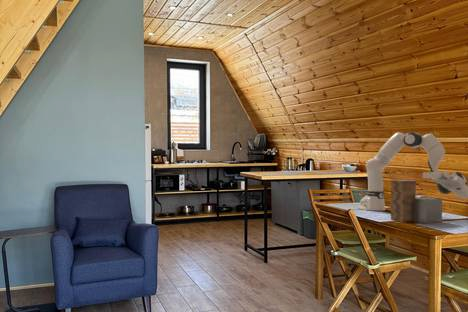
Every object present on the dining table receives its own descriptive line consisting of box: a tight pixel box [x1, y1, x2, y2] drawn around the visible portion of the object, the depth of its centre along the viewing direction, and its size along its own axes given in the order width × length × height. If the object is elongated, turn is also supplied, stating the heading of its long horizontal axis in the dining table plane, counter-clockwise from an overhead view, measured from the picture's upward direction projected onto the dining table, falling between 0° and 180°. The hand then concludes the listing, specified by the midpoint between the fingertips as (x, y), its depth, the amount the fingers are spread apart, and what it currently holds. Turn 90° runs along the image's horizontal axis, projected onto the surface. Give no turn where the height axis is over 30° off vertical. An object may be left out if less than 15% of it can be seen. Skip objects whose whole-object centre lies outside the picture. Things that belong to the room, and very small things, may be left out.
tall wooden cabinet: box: [389, 179, 417, 223], centre depth 286 cm, size 11×12×26 cm
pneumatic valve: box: [416, 194, 427, 198], centre depth 327 cm, size 6×12×12 cm, turn 9°
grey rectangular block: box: [422, 171, 450, 180], centre depth 282 cm, size 4×20×4 cm, turn 116°
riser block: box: [412, 196, 443, 225], centre depth 279 cm, size 10×14×15 cm
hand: (440, 174), depth 283 cm, fingers closed on grey rectangular block, 3 cm apart
